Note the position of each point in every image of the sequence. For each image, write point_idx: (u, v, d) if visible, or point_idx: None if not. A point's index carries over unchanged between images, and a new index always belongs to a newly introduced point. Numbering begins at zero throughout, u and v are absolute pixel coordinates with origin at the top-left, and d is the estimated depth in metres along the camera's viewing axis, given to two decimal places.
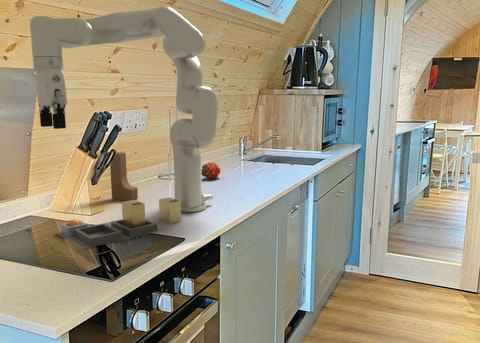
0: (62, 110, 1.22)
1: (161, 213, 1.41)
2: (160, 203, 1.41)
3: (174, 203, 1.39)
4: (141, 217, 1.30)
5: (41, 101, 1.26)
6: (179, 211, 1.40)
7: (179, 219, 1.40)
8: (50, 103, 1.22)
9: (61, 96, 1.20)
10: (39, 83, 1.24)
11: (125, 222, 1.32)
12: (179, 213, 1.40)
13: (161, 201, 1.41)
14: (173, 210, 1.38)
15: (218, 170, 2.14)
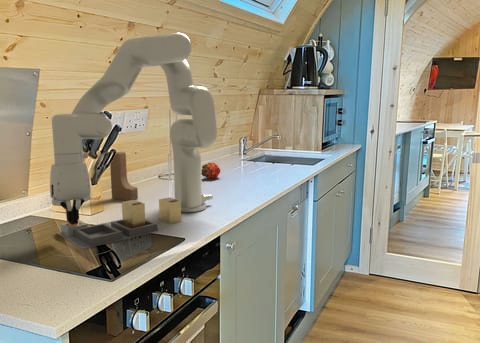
0: None
1: (161, 213, 1.41)
2: (160, 203, 1.41)
3: (174, 203, 1.39)
4: (141, 217, 1.30)
5: (69, 196, 1.26)
6: (179, 211, 1.40)
7: (179, 219, 1.40)
8: (89, 194, 1.30)
9: None
10: (71, 178, 1.25)
11: (125, 222, 1.32)
12: (179, 213, 1.40)
13: (161, 201, 1.41)
14: (173, 210, 1.38)
15: (218, 170, 2.14)
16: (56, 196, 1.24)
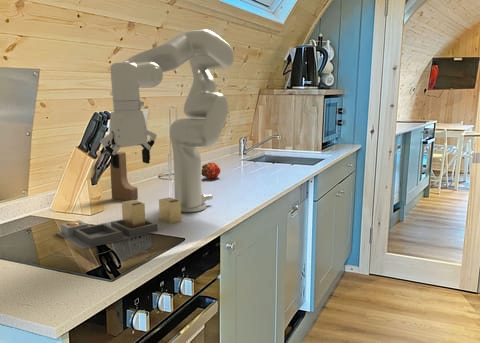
0: None
1: (161, 213, 1.41)
2: (160, 203, 1.41)
3: (174, 203, 1.39)
4: (141, 217, 1.30)
5: (128, 142, 1.30)
6: (179, 211, 1.40)
7: (179, 219, 1.40)
8: (146, 141, 1.34)
9: None
10: (130, 125, 1.30)
11: (125, 222, 1.32)
12: (179, 213, 1.40)
13: (161, 201, 1.41)
14: (173, 210, 1.38)
15: (218, 170, 2.14)
16: (116, 142, 1.29)
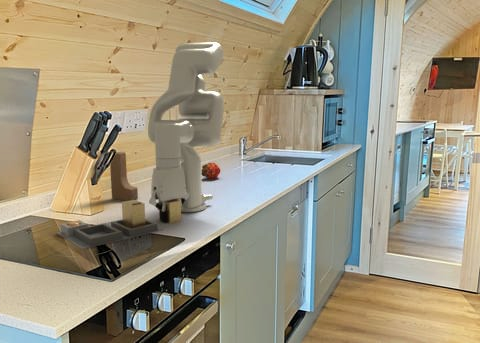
0: None
1: None
2: None
3: (174, 203, 1.39)
4: (141, 217, 1.30)
5: (169, 196, 1.38)
6: (179, 211, 1.40)
7: (179, 219, 1.40)
8: (185, 195, 1.42)
9: None
10: (171, 181, 1.37)
11: (125, 222, 1.32)
12: (179, 213, 1.40)
13: None
14: (173, 210, 1.38)
15: (218, 170, 2.14)
16: (159, 197, 1.36)
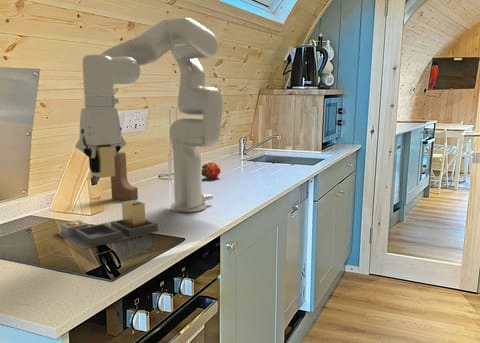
0: None
1: None
2: None
3: (106, 149, 1.20)
4: (141, 217, 1.30)
5: (100, 141, 1.20)
6: (112, 158, 1.22)
7: (112, 168, 1.22)
8: (120, 141, 1.24)
9: None
10: (102, 122, 1.19)
11: (125, 222, 1.32)
12: (112, 161, 1.22)
13: None
14: (104, 157, 1.20)
15: (218, 170, 2.14)
16: (87, 140, 1.18)
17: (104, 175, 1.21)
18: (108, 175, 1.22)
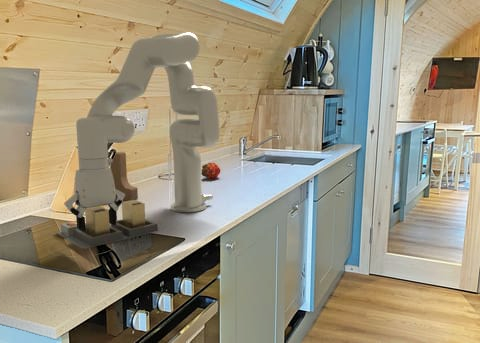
0: None
1: (87, 224, 1.25)
2: (86, 213, 1.25)
3: (101, 213, 1.22)
4: (141, 217, 1.30)
5: (94, 202, 1.21)
6: (107, 222, 1.23)
7: (107, 231, 1.24)
8: (114, 200, 1.25)
9: (122, 192, 1.28)
10: (96, 184, 1.20)
11: (125, 222, 1.32)
12: (106, 225, 1.23)
13: (87, 210, 1.24)
14: (99, 221, 1.22)
15: (218, 170, 2.14)
16: (81, 203, 1.19)
17: None
18: None
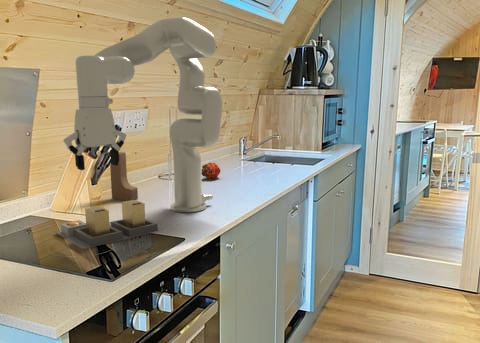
0: None
1: (87, 224, 1.25)
2: (86, 213, 1.25)
3: (101, 213, 1.22)
4: (141, 217, 1.30)
5: (95, 142, 1.21)
6: (107, 222, 1.23)
7: (107, 231, 1.24)
8: (115, 141, 1.25)
9: (123, 133, 1.28)
10: (96, 123, 1.20)
11: (125, 222, 1.32)
12: (106, 225, 1.23)
13: (87, 210, 1.24)
14: (99, 221, 1.22)
15: (218, 170, 2.14)
16: (82, 141, 1.19)
17: None
18: None
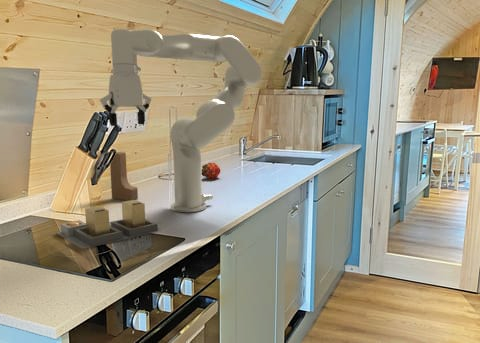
0: None
1: (87, 224, 1.25)
2: (86, 213, 1.25)
3: (101, 213, 1.22)
4: (141, 217, 1.30)
5: (126, 102, 1.43)
6: (107, 222, 1.23)
7: (107, 231, 1.24)
8: (142, 103, 1.47)
9: None
10: (127, 86, 1.42)
11: (125, 222, 1.32)
12: (106, 225, 1.23)
13: (87, 210, 1.24)
14: (99, 221, 1.22)
15: (218, 170, 2.14)
16: (115, 101, 1.41)
17: None
18: None
